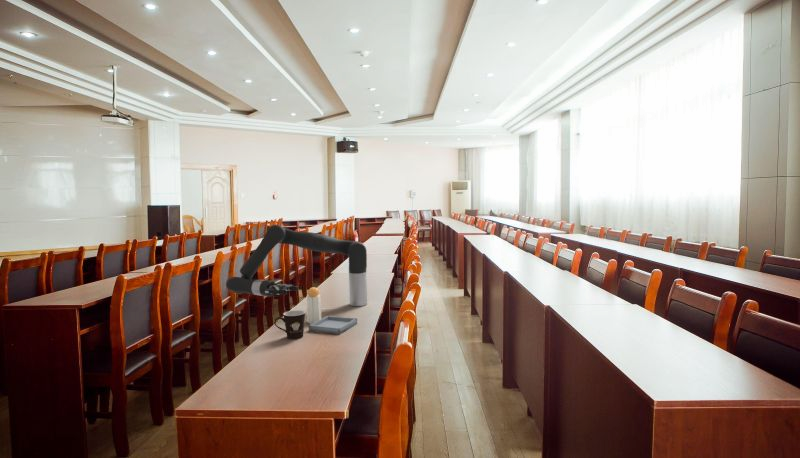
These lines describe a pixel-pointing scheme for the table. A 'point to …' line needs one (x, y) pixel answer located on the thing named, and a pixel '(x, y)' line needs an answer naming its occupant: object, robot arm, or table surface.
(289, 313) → the coffee mug
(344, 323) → the tray
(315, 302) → the white hexagonal prism
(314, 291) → the ball
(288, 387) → the table surface
